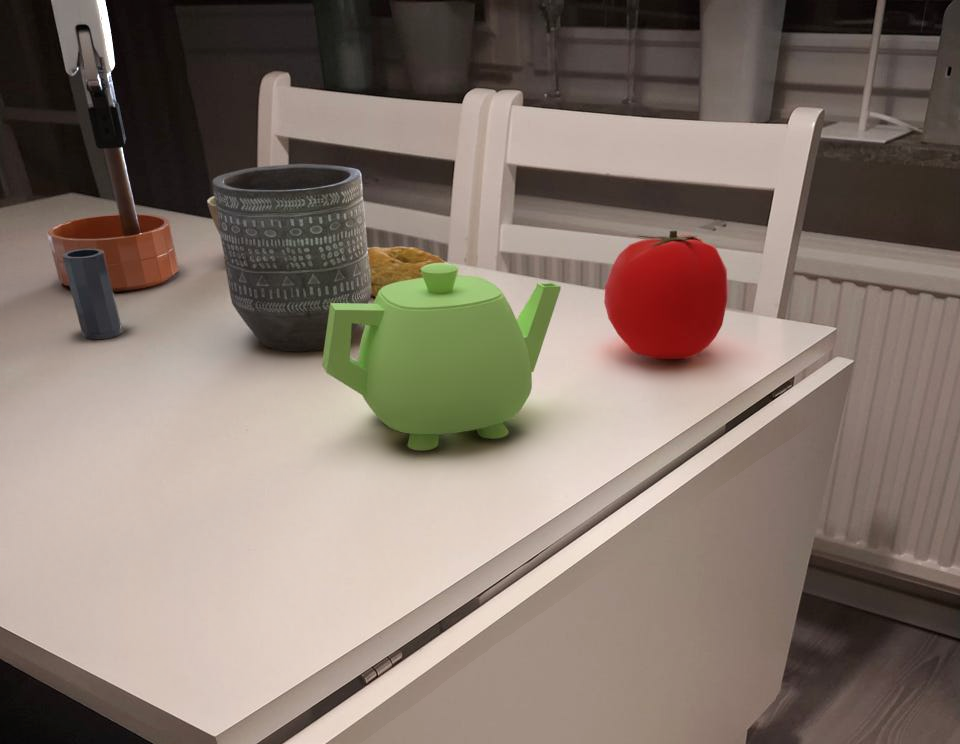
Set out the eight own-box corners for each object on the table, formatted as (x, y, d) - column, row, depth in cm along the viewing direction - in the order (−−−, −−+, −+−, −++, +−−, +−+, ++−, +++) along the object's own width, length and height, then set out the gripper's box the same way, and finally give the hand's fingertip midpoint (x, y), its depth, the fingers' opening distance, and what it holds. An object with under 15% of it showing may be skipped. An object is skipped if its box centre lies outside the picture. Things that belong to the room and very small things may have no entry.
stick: (129, 262, 123) (90, 90, 112) (130, 259, 125) (91, 88, 114) (146, 261, 124) (108, 89, 113) (146, 257, 125) (109, 87, 114)
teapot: (526, 383, 92) (527, 234, 85) (589, 434, 82) (597, 271, 75) (314, 415, 87) (294, 259, 79) (353, 475, 77) (335, 303, 69)
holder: (82, 341, 105) (60, 259, 100) (84, 329, 109) (64, 250, 104) (121, 337, 106) (102, 256, 101) (123, 326, 109) (104, 247, 104)
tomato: (703, 380, 92) (718, 249, 85) (585, 365, 96) (590, 238, 89) (734, 341, 100) (750, 219, 94) (624, 329, 104) (632, 211, 97)
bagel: (414, 308, 112) (411, 263, 109) (342, 294, 117) (337, 250, 114) (468, 288, 118) (467, 244, 115) (397, 275, 123) (394, 232, 121)
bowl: (56, 299, 118) (41, 244, 115) (66, 269, 129) (53, 218, 126) (179, 288, 121) (168, 234, 117) (178, 260, 132) (169, 210, 128)
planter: (211, 339, 105) (181, 178, 96) (319, 309, 113) (301, 158, 103) (293, 369, 97) (269, 197, 88) (403, 334, 105) (392, 173, 95)
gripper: (38, -54, 111) (83, 138, 122) (21, -54, 99) (72, 159, 110) (108, -56, 112) (146, 134, 123) (101, -57, 100) (143, 154, 111)
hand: (111, 144), depth 117 cm, fingers closed on stick, 2 cm apart
